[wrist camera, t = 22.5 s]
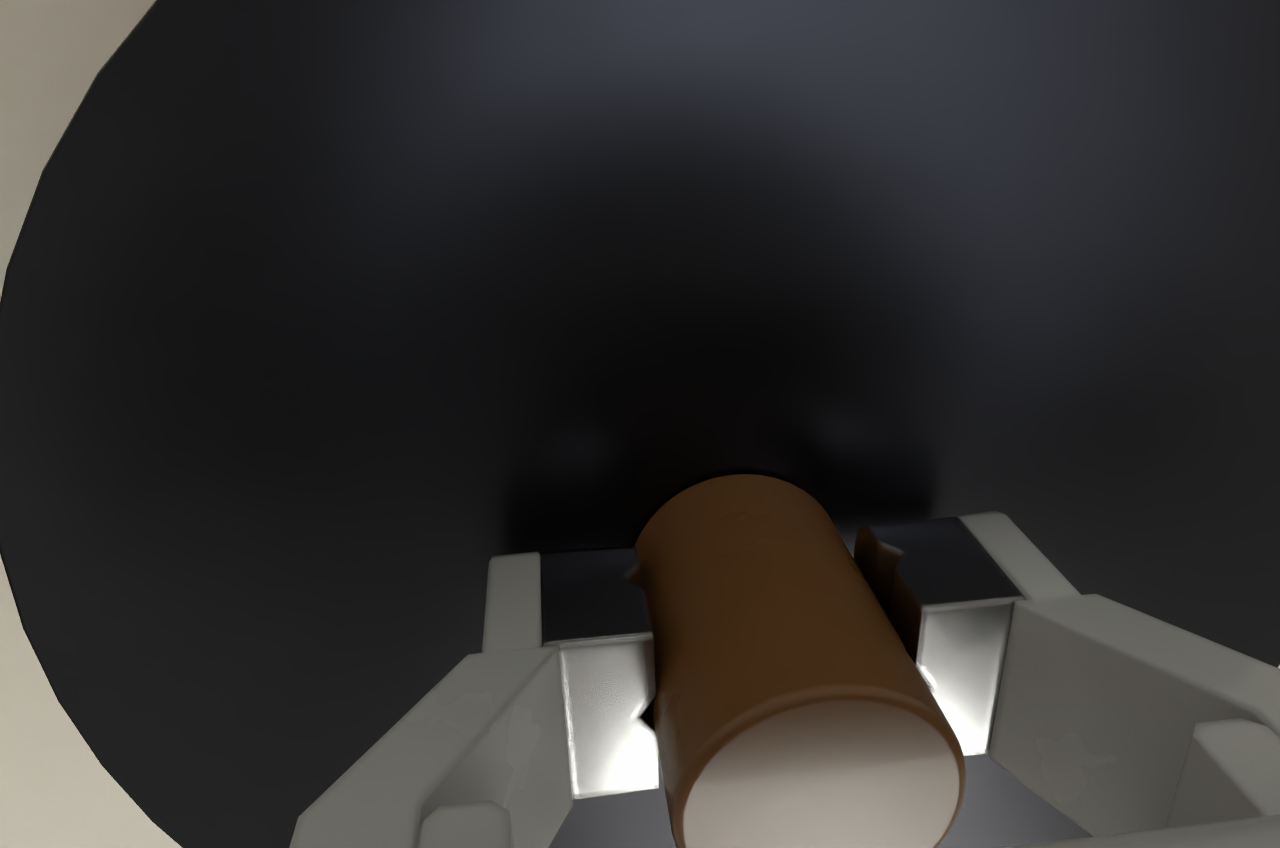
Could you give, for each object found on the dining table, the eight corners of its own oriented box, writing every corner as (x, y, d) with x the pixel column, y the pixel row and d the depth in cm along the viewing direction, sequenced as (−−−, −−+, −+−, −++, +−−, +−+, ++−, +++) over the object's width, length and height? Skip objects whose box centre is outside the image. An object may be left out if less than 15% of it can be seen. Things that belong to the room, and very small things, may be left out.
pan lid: (218, 992, 14) (87, 1412, 10) (-215, -218, 7) (-1160, -500, 3) (1171, 874, 15) (1411, 1199, 11) (1509, -250, 9) (2394, -479, 5)
